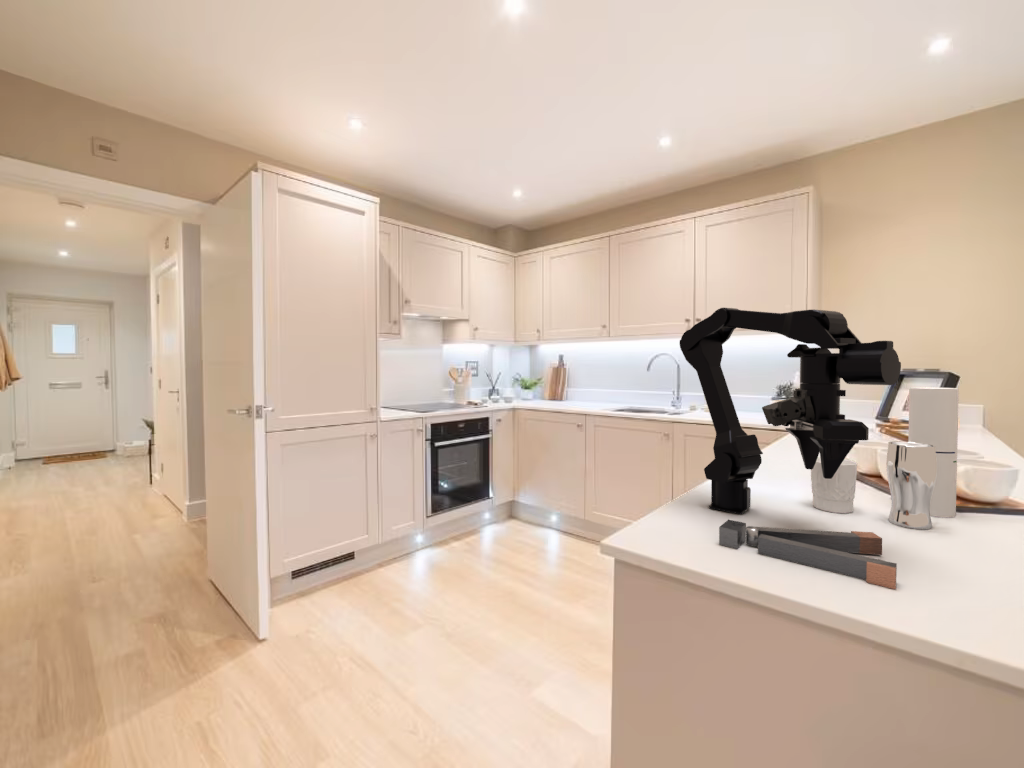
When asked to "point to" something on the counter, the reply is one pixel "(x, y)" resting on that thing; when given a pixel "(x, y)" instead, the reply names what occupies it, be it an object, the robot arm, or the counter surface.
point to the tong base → (813, 555)
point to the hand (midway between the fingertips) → (817, 473)
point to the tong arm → (822, 539)
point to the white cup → (834, 487)
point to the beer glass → (911, 483)
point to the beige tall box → (937, 440)
